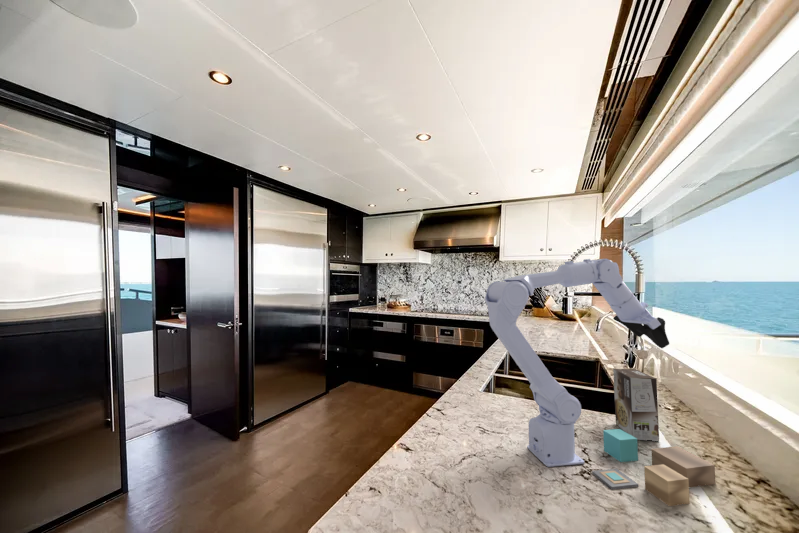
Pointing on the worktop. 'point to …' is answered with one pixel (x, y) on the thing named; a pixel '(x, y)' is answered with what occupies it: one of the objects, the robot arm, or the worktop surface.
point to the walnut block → (685, 465)
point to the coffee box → (636, 403)
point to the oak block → (667, 485)
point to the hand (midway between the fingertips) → (652, 339)
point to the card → (615, 479)
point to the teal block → (620, 445)
